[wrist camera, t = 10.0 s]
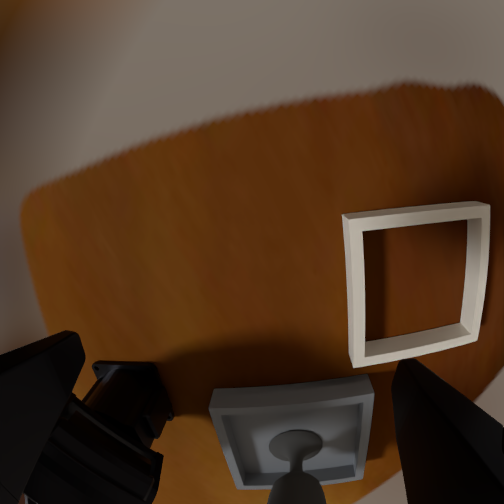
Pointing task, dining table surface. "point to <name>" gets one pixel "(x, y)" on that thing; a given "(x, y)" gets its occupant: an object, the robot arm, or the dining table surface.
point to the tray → (295, 428)
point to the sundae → (296, 468)
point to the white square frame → (473, 287)
